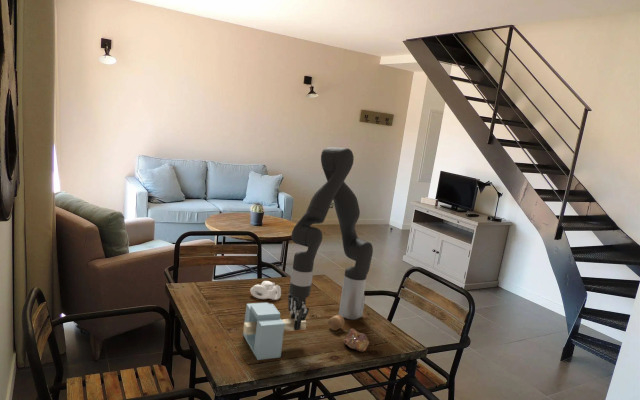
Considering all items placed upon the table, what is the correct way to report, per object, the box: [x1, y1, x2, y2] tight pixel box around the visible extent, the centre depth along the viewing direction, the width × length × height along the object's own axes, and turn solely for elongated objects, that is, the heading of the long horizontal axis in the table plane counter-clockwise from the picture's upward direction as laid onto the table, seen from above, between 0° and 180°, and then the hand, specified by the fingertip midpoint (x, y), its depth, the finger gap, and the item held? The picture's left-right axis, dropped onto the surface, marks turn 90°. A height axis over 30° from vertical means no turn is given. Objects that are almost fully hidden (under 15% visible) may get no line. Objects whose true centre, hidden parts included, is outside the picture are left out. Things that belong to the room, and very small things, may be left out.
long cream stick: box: [242, 318, 307, 335], centre depth 155 cm, size 22×3×3 cm, turn 116°
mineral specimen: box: [343, 327, 370, 352], centre depth 163 cm, size 12×8×7 cm
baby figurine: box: [249, 280, 282, 301], centre depth 196 cm, size 9×13×9 cm
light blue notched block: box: [242, 302, 285, 361], centre depth 153 cm, size 8×17×14 cm, turn 26°
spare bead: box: [327, 314, 345, 331], centre depth 175 cm, size 4×5×5 cm
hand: (294, 327), depth 159 cm, fingers closed on long cream stick, 3 cm apart
